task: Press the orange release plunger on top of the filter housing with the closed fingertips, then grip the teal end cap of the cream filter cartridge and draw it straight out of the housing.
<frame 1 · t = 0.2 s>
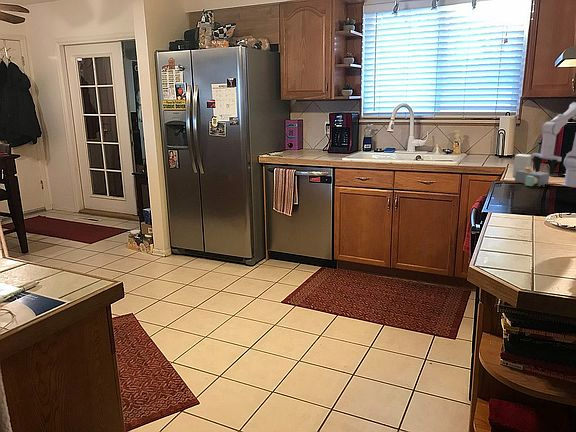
hand: (544, 173, 242), 10 cm above the countertop, tool pointing down, fingers open, 7 cm apart
housing: (531, 182, 265), on the countertop
supplement box: (520, 176, 281), on the countertop
plunger: (527, 171, 265), point 6 cm above the countertop, slide at 0.0 cm
cartridge: (535, 179, 259), point 3 cm above the countertop, slide at 0.0 cm
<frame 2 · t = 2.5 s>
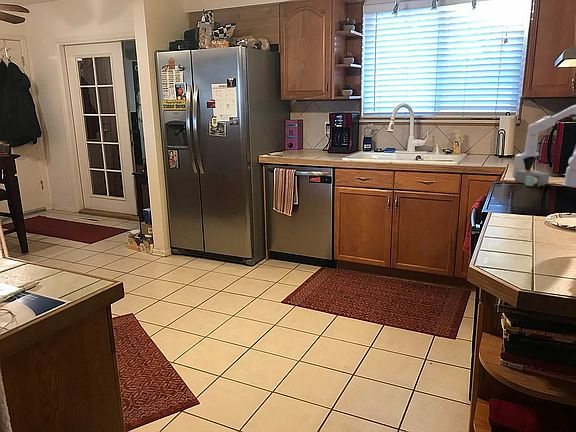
hand: (527, 170, 265), 7 cm above the countertop, tool pointing down, fingers closed, pressing on plunger
plunger: (527, 173, 266), point 5 cm above the countertop, slide at 1.2 cm, touching gripper
everything else where it was.
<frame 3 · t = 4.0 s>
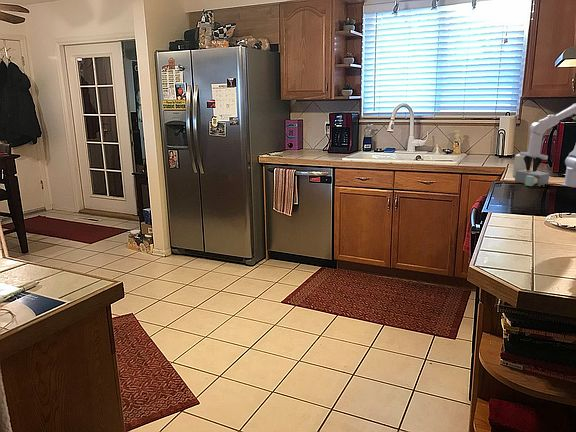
hand: (531, 170, 255), 8 cm above the countertop, tool pointing down, fingers open, 3 cm apart
plunger: (527, 173, 266), point 5 cm above the countertop, slide at 1.2 cm
everything else where it was.
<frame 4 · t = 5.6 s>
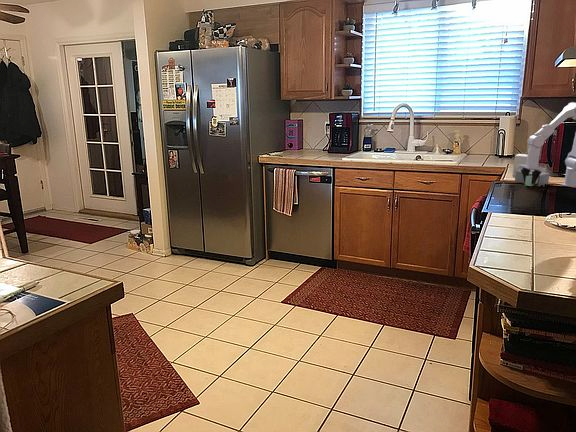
hand: (529, 183, 257), 2 cm above the countertop, tool pointing down, fingers closed on cartridge, 4 cm apart
cartridge: (535, 179, 259), point 3 cm above the countertop, slide at 0.0 cm, touching gripper
everything else where it was.
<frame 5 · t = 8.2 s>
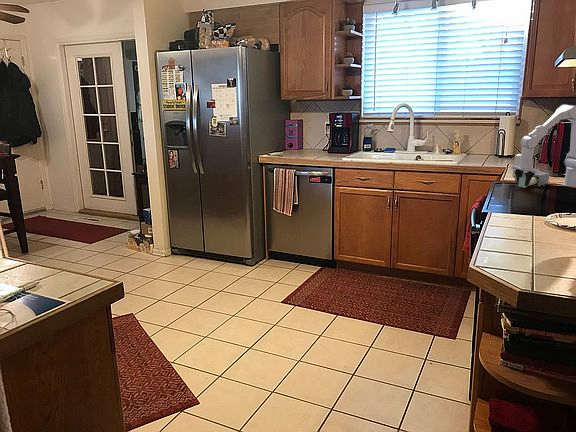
hand: (522, 184, 254), 2 cm above the countertop, tool pointing down, fingers closed on cartridge, 4 cm apart
cartridge: (528, 181, 256), point 3 cm above the countertop, slide at 6.0 cm, touching gripper
everything else where it was.
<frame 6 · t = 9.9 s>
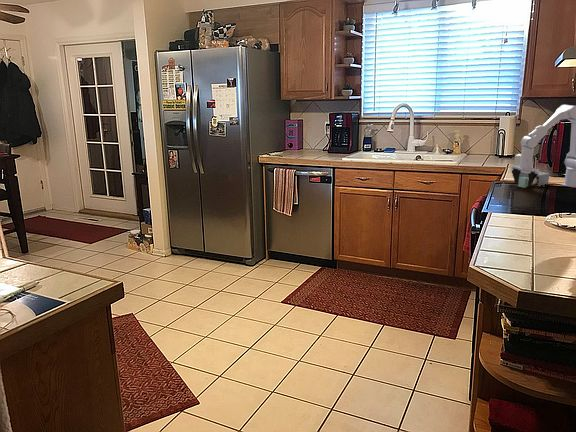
hand: (522, 184, 254), 2 cm above the countertop, tool pointing down, fingers open, 7 cm apart
cartridge: (528, 181, 256), point 3 cm above the countertop, slide at 6.0 cm
everything else where it was.
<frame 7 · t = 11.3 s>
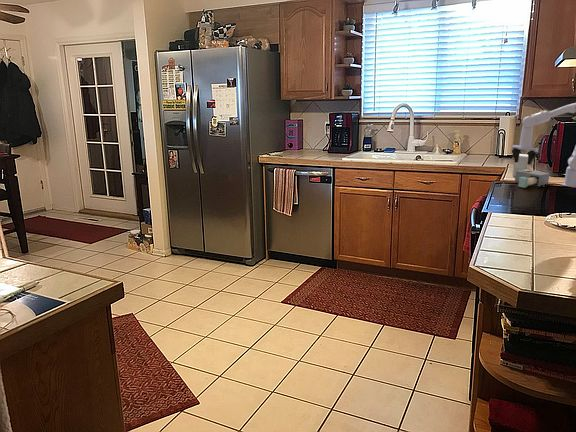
hand: (522, 163, 264), 10 cm above the countertop, tool pointing down, fingers open, 7 cm apart
nothing on the countertop moved.
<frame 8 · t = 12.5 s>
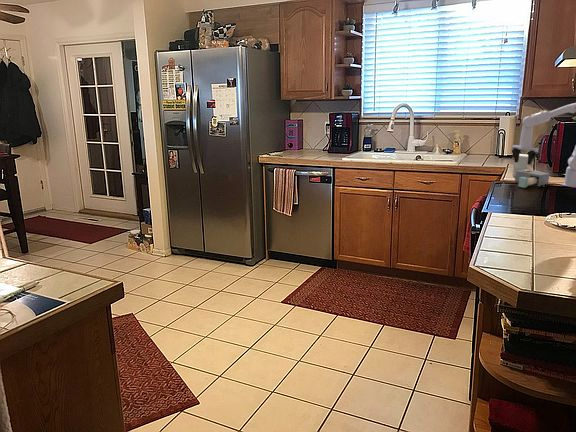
hand: (522, 163, 264), 10 cm above the countertop, tool pointing down, fingers open, 7 cm apart
nothing on the countertop moved.
at the end: cartridge slide at 6.0 cm; plunger slide at 1.2 cm; the gripper is holding nothing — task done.
